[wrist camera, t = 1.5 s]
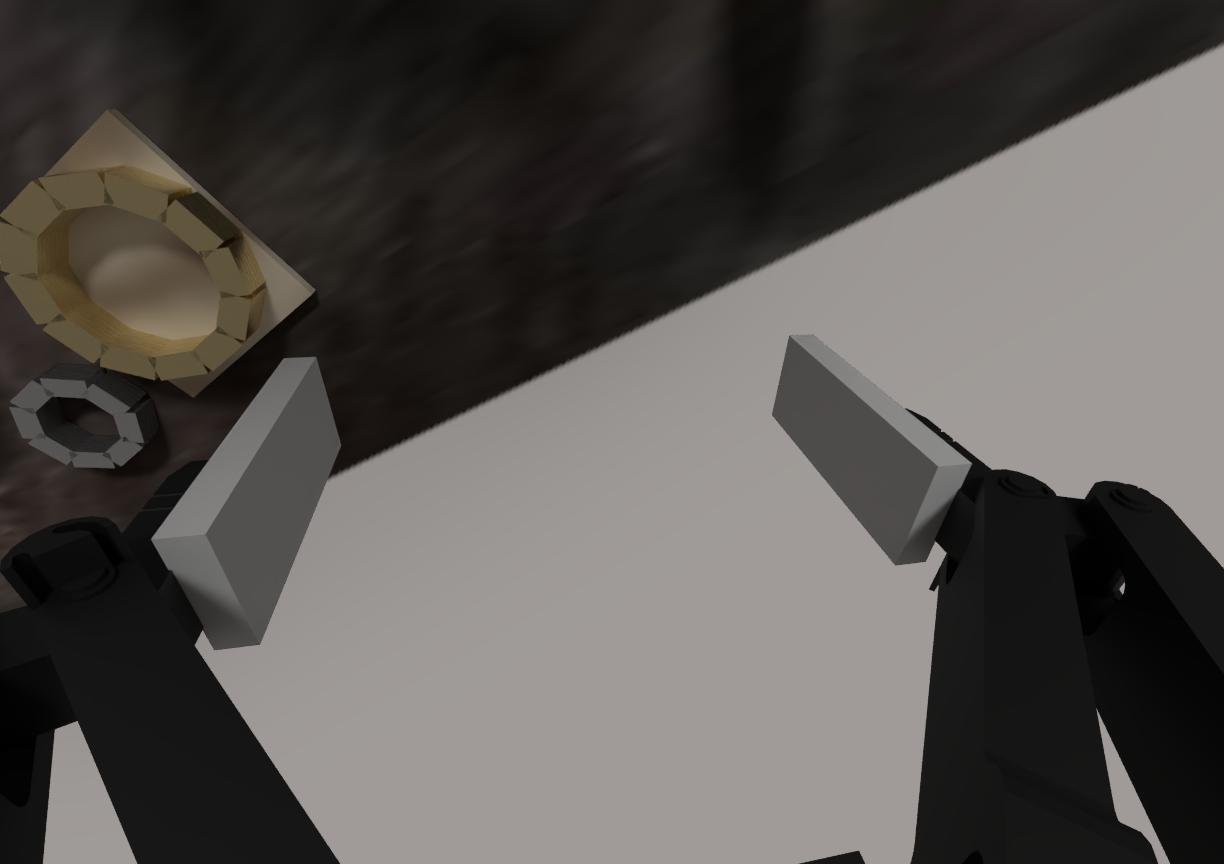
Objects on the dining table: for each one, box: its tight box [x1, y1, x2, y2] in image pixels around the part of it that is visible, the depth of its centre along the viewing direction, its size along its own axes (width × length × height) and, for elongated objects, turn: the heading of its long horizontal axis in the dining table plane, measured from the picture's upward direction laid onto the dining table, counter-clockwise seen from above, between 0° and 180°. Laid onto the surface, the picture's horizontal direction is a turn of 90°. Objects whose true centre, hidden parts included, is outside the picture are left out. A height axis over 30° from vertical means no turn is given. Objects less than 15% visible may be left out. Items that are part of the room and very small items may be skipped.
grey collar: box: [9, 364, 160, 468], centre depth 35 cm, size 6×6×2 cm
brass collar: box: [0, 165, 266, 381], centre depth 31 cm, size 11×11×2 cm
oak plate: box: [44, 109, 315, 398], centre depth 32 cm, size 12×11×1 cm
